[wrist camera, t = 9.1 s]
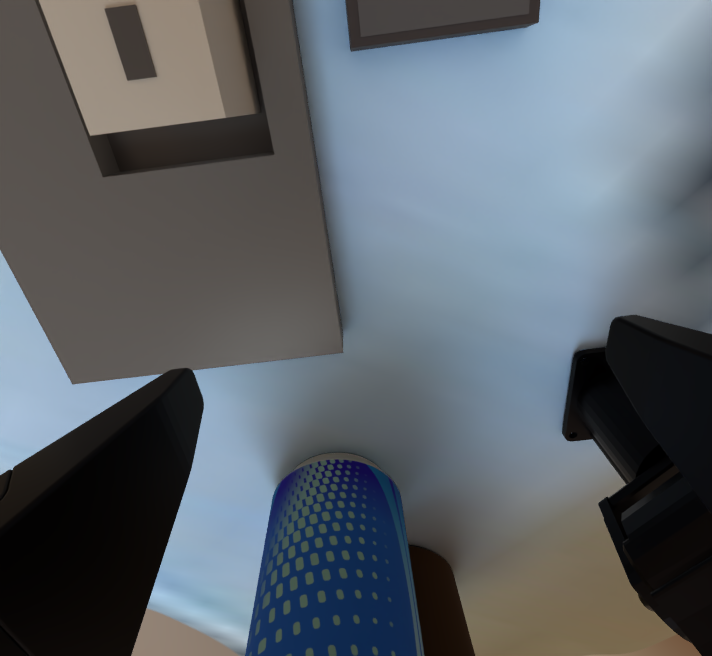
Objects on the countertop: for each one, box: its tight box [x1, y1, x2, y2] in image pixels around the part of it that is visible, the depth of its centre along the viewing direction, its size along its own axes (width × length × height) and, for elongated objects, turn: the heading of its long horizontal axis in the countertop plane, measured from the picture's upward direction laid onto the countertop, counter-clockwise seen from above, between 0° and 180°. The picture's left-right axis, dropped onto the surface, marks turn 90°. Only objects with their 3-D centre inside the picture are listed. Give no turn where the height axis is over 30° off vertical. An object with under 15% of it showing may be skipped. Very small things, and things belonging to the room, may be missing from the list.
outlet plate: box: [0, 0, 343, 384], centre depth 18 cm, size 18×14×2 cm
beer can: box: [245, 453, 425, 656], centre depth 22 cm, size 8×8×16 cm
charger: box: [39, 0, 261, 136], centre depth 14 cm, size 4×4×6 cm
